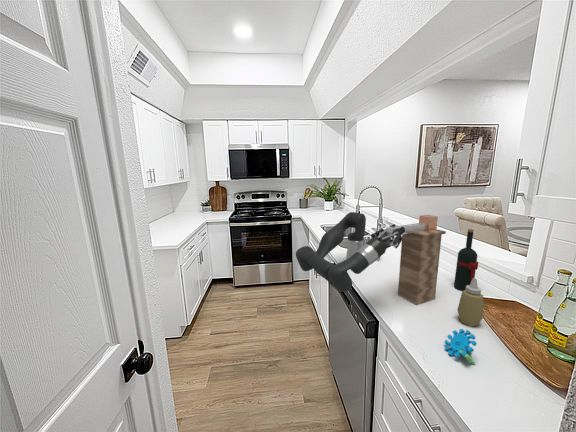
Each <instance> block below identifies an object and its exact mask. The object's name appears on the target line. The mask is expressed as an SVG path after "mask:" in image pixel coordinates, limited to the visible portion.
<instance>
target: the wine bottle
mask: <svg viewBox="0 0 576 432" xmlns="http://www.w3.org/2000/svg"><path fill="white" fill-rule="evenodd" d="M474 231H475V230H474V229H472V228H468V229H467V232H466V233H467V237H466V243H465V247H463V248H461V249H460V250H459V251H458V253H457V258H456V266H455V273H454V274H455V276H454V283H453V288H454V289H456V290H458V291H460V292H462V291H464V290H465V289H466V286H467V285H470V283H471V281H472V279H473V278H476V277H475V276H476V270H478V269H479V262H478V253H477V252H476V251H475V250H474V249H473V248H472V246H473V237H474Z"/></svg>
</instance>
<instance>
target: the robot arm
mask: <svg viewBox="0 0 576 432" xmlns="http://www.w3.org/2000/svg"><path fill="white" fill-rule="evenodd" d="M366 223H367V218H366V215H365V214H364V213H363V212H362V213H361V212H355V211H353V212H352V211H351V212H348V213H347V214H346V215H345V216H344V217H343V218H342V219H341V220H340V221H339V222H338V223H337V224H335V225H333V227H332V228H330V229H329V230H327V231H326V232H325V233H324V234H323V235H322V237H321V239H320V242H319V244H318V247H317V250H314V249H313V247H311V246H308V245H306V246H301V247H300V248H298V249H296V252H295V258H296V261H297V262H298V265H299V267H300V268H301V270H302V271H303V272H308V271H309V272H310V271H312V270H314V271H315V272H316V274H317V275H319V276H320V277H321V278H323V279H325V280H326V281H327V282H328V283H329V284H330V285H331V286H332V288H334V289H335V290H336V291H338V292H340V293H346V292H348V291H350V290H351V289H352V287H353V280H352V278H351V277H350V275H349V273H348V271H351V272H352V273H353V274H356V275H359V274H361V273H363V272H364V271H365V270H366V269H367V268H368V267H370V266H371V265H373V264H374V263H375V262H376V261H377V259H378V258H379V257H380V258H381V257H382V256H383V255H384V254H386V251H387V249H389V248H391V247H393V248H394V249H398V248H399V246H400V244H402V234H403V233H404V232H405V228H404V227H401V228H400V229H398V230H397V231H396V232H395V233H393V234H389V235H386V232H387V228H385V229H384V228H380V229H378V230H376V231H375V232H373V233H371V234H370V237H371V238H370V239H369V240H368V241H366V242H365V243H364V238H365V235H366V233H365V232H366V226H367V225H366ZM394 226H397V225H396V224H391V225H390V226H389V227H394ZM350 228H352V229H355V230H354V232H351V233H348V234H347V243H346V246H347V249H346V256H345V257H346V258H345V259H344V260H342V261H341V262H338V263H332V262H331V261H328V260H326V259H325V257H327V256H328V254H330V253H331V252H332V251H333V250H334V249H335V248H336V247H338V246H339V245H340V244H341V243H342V242H343V241H344V238H345V232H346V230H348V229H350ZM395 235H396V236H395Z"/></svg>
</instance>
